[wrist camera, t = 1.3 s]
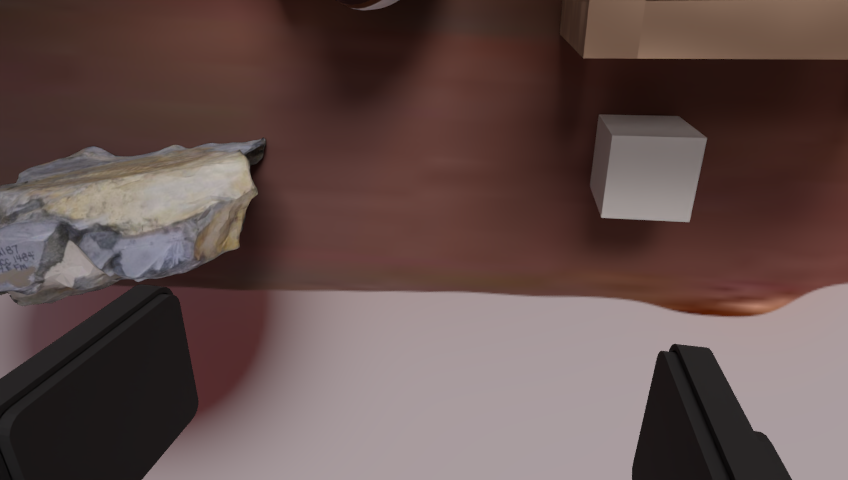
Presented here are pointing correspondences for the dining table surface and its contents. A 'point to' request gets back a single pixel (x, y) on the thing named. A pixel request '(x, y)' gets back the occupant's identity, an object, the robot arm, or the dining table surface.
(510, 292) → the dining table surface
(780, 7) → the trapdoor frame
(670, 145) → the gray cube
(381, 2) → the spread jar
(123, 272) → the fossil rock
